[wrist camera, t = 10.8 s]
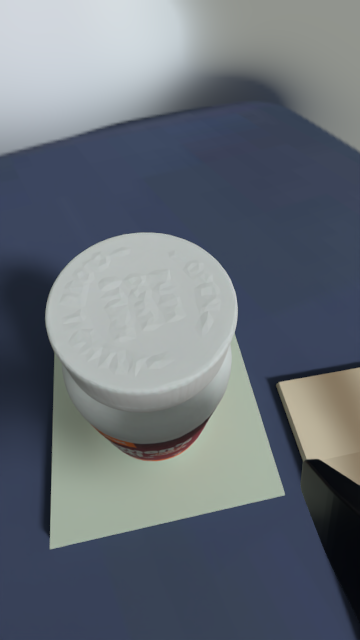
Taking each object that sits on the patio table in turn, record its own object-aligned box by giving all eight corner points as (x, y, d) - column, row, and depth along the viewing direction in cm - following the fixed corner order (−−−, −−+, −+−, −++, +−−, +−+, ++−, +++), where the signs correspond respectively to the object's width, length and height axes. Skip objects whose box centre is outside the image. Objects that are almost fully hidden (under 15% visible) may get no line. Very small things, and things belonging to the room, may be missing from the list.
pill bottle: (94, 459, 16) (-21, 413, 6) (112, 355, 19) (54, 213, 9) (207, 465, 16) (270, 428, 6) (207, 360, 19) (248, 224, 9)
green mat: (56, 545, 15) (49, 549, 14) (59, 336, 21) (55, 330, 20) (278, 494, 16) (285, 495, 15) (223, 312, 22) (225, 305, 21)
